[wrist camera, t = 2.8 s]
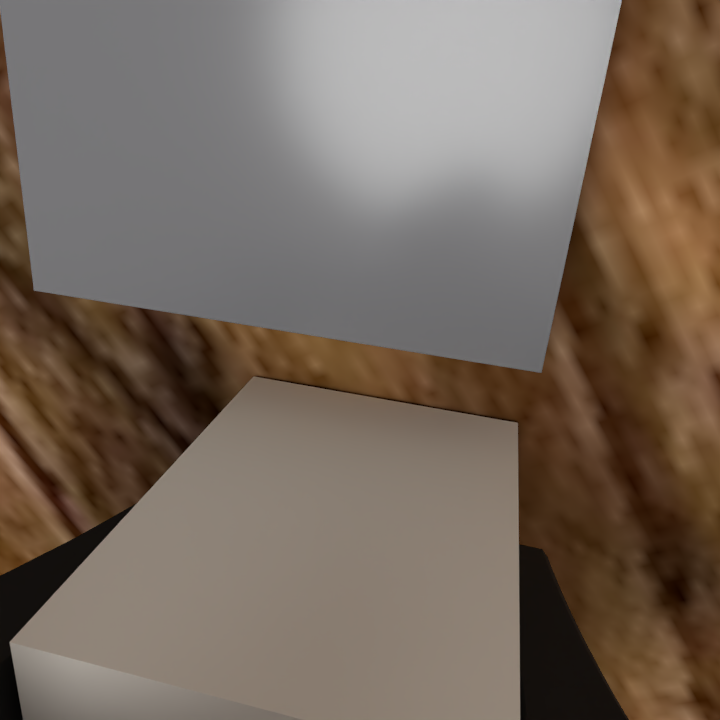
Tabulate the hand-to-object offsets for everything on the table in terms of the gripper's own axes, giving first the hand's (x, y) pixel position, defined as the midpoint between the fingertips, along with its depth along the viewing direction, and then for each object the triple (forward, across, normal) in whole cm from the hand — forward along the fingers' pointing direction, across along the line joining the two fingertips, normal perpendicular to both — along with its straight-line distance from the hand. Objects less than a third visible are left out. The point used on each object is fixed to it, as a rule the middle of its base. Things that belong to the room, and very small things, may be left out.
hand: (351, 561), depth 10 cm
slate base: (+2, +2, -8) cm, 8 cm away
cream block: (+1, 0, 0) cm, 1 cm away
